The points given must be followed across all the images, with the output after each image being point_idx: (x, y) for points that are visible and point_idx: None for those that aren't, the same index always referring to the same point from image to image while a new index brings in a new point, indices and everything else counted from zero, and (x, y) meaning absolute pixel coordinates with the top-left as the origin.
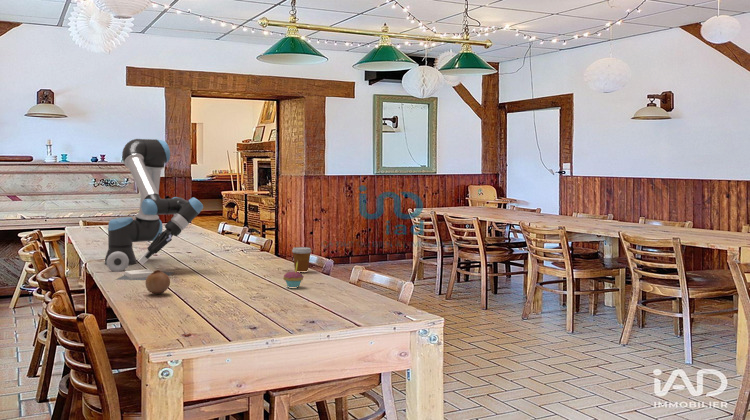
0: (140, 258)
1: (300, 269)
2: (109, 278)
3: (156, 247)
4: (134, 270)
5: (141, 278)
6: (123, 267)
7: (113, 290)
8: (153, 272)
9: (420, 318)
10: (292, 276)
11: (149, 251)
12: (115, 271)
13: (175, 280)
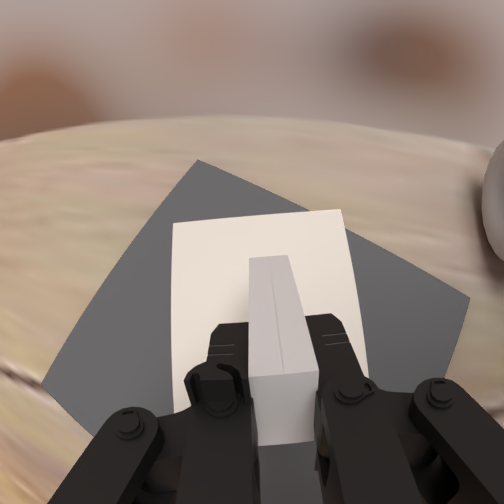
0: (265, 273)
1: None
2: (295, 151)
3: (73, 492)
4: (342, 279)
5: (152, 299)
6: (497, 242)
7: (13, 151)
8: None
9: None
10: None
11: (251, 393)
12: (482, 212)
13: (56, 473)
